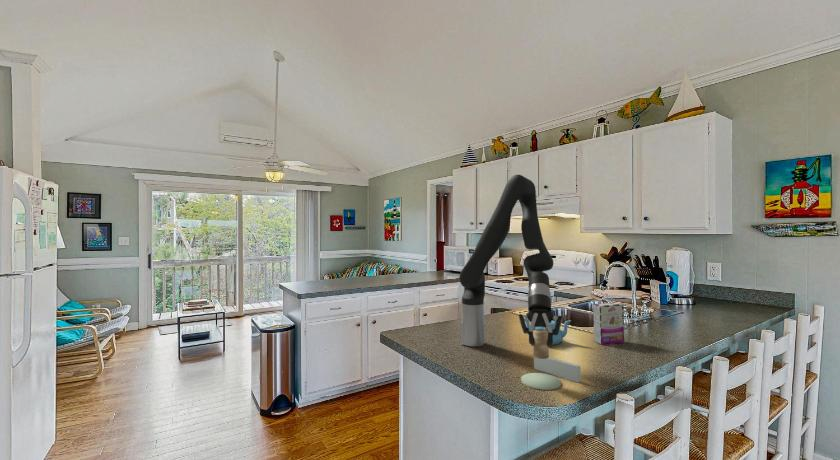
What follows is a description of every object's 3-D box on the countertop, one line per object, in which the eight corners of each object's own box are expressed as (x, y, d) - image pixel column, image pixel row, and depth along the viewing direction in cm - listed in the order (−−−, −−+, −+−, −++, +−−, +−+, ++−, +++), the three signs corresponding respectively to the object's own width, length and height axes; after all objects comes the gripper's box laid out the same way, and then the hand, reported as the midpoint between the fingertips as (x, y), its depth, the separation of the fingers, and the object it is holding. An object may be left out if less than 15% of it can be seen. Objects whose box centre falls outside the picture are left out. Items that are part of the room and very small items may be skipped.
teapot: (545, 348, 151) (544, 323, 151) (520, 339, 165) (520, 316, 165) (572, 344, 157) (571, 319, 157) (546, 335, 171) (546, 312, 171)
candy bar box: (616, 339, 162) (615, 302, 162) (624, 343, 157) (623, 304, 157) (593, 341, 159) (592, 303, 159) (601, 345, 154) (600, 305, 154)
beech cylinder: (533, 358, 116) (532, 332, 116) (533, 353, 120) (533, 329, 121) (548, 359, 115) (548, 333, 115) (548, 354, 119) (547, 329, 119)
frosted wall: (534, 368, 129) (533, 354, 129) (536, 367, 130) (536, 353, 130) (578, 382, 117) (578, 366, 117) (580, 381, 118) (580, 365, 118)
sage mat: (520, 387, 114) (520, 385, 114) (521, 373, 125) (521, 371, 125) (562, 392, 110) (562, 389, 110) (559, 376, 122) (559, 375, 122)
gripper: (517, 292, 127) (516, 337, 116) (561, 293, 123) (565, 340, 112) (518, 305, 132) (518, 349, 121) (561, 306, 128) (565, 352, 117)
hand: (540, 344), depth 116 cm, fingers closed on beech cylinder, 4 cm apart
